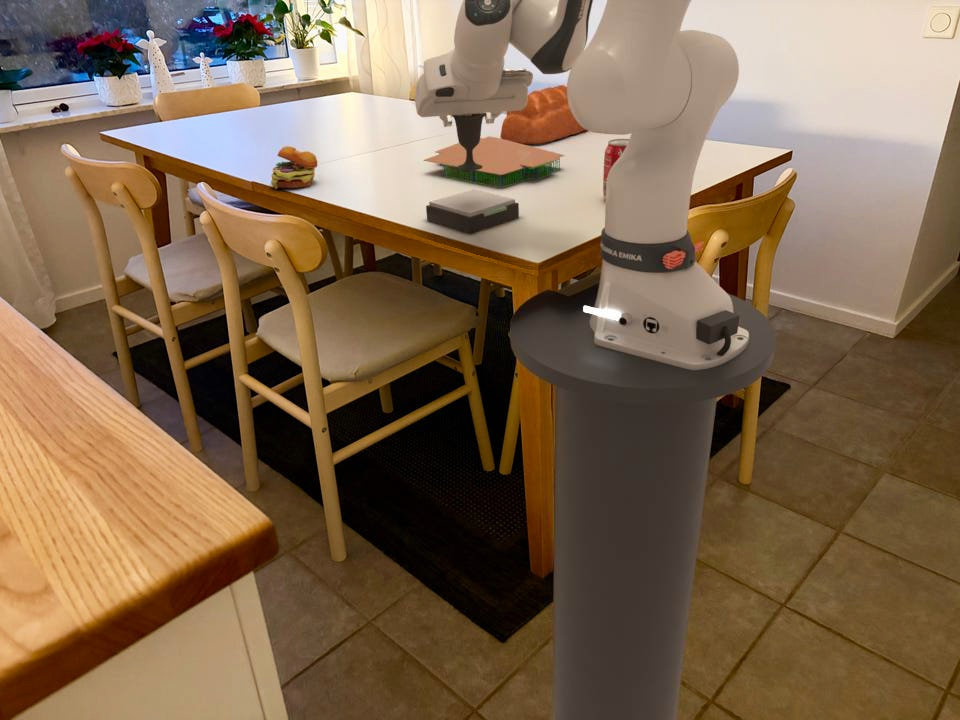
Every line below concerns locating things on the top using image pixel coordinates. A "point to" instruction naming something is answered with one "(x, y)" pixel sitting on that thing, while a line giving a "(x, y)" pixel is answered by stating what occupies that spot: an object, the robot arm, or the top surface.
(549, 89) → the bread
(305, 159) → the cheeseburger
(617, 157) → the soda can
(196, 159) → the top surface
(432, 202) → the scale
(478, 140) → the sundae
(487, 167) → the house
